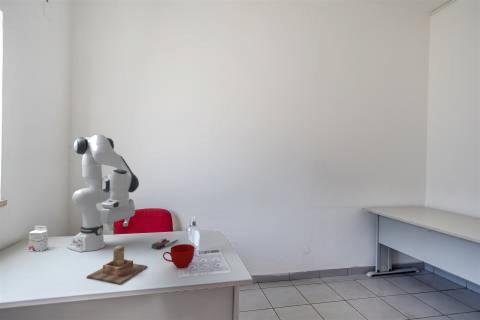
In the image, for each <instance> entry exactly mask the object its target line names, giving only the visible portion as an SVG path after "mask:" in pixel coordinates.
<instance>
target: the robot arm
mask: <svg viewBox="0 0 480 320" xmlns="http://www.w3.org/2000/svg"><path fill="white" fill-rule="evenodd" d="M73 148H74V151H75V153H77V154H78V155H82V159H81V173H82V179H83V180H84V181H85V182H87V183H88V186H89V187H84V188H80V189H78V190H76V191H74V193H73V194H72V196H71V198H72V199H71V200H72V202H73V204H74V205H75V206H77V207H78V208H79V209H80V211H81V214H82V226H80V227H79V230H80V231H79V232H78V233H77V234H75V236H73V237H72V239H71V244H68V245H67V246H66V248H67V249H69V250H72V251H75V252H78V253H84V252H91V251H97V250H101V249H103V248H104V247H105V246H106V245H105V244H106V243H105V242H106V241H105V240H104V225H107V226H108V228H109V229H108V230H109V231H110V232H114V231H115V227H114V225H113V224H114V223H116V222H119V221H122V220H124V222H122V226H123V227H128V225H129V221H130V218H132V217H134V216H135V214H136V209H135V208H136V207H135V201H134V200H133V199H131V198H130V194H129V193H134V192H136V190H138V188H139V185H140V182H139V178H138V177H137V176H136V175H135V174H134V172H133V171H132V169H131V168H130V167H129V165H128V163H127V161H126V160H125V159H124V157H123V156H122V155H121V154H118V153H117V152H116V151H115V150H114V149H115V144H114V140H113V139H112V138H110V137H106V136H105V134H94V135H93V136H90V137H89V136H88V137H84V136H83V137H77V138H76V139H75V140H74V143H73ZM102 165H104V166H109V167H112V168H115V169H113V170H112V171H111V173H110V174H109V175H106V176H104V177H103V167H102ZM97 204H101V208H102V209H101V210H99V209H98V207H97Z"/></svg>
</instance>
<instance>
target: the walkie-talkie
mask: <svg viewBox="0 0 480 320" xmlns="http://www.w3.org/2000/svg"><path fill="white" fill-rule="evenodd" d="M178 241H179V239H176V240H174V241H170V240H168V239H167V238H160V239H159V240H158V241H156V242H153V243H152V244H151V249H152V250H153V249H154V250H161V249H164V248H168V247H172V246H173V244H174V243H176V242H178Z"/></svg>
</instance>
